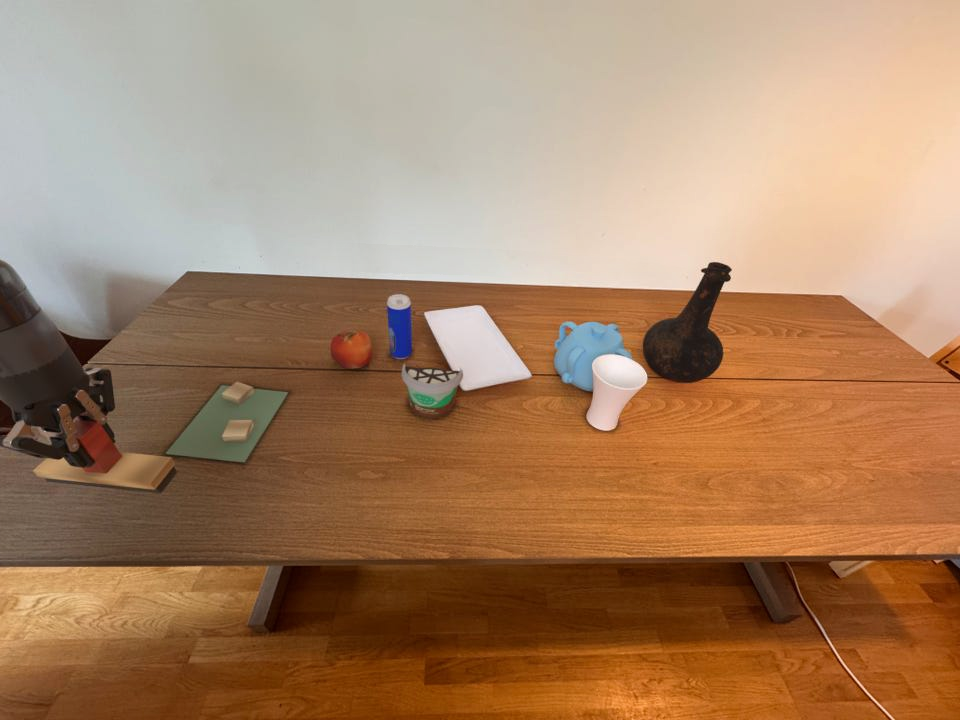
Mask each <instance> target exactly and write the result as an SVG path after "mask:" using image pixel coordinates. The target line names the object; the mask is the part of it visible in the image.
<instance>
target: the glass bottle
mask: <svg viewBox="0 0 960 720" xmlns="http://www.w3.org/2000/svg"><path fill="white" fill-rule="evenodd" d="M732 271H733V269H732V268H731V266H729V265H728V264H725V263H722V262H718V261H711V262H709V263H708V264H707V267H704V268H701V269H700V272H701V273H702V274H703V275H702V278H701V280H700V281H699V283H698V285H697V287H696V288H695V290H694V292H693V293H692V295H691V297H690V299H689V300H688V302H687V303H686V304H685V306H684V308H683V309H682V311H681V312H680V313H679V314H678V316H676V317H670V318H665V319H662V320H659V321H657V322H655V323H654V324H653V325H651V326H650V327H649V329H648V330H647V331H646V332H645V334H644V336H643V340H642V353H643V357H644V359H645V362H646V363H647V365H648V367H649V368H650V369H651V370H652V372H654V373H655V374H656V375H658V376H659V377H661V378H662V379H664V380H668V381H671V382H674V383H680V384H692V383H693V384H694V383H697V382H700V381H702V380H705V379H707V378H709V377H710V376H712V375H713V374H714V373H715V372H716V371H717V370H719V368H720V366H721V364H722V361H723V358H724V347H723V344H722V341H721V340H720V337H718V335H717V334H716V333H715V332H714V331H713V330H712V329H711V328H709V324H710V321H711V317H712V314H713V311H714V308H715V306H716V303H717V301H718V298H719V296H720V293H721V291H722V289H723V287H724V284H725V283H728V282H730V281H731V280H732V277H731V274H730V273H731V272H732Z"/></svg>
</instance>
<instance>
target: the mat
mask: <svg viewBox="0 0 960 720" xmlns="http://www.w3.org/2000/svg"><path fill="white" fill-rule="evenodd" d="M231 386H232V385H226V384H225V385H223V384H221V386H220V387H219V388H218V389H217V391H215V393H214V394H213V395H212V396H211V398H210V399H209V400H207V401H208V402H206V404H205V405H204V406H203V407H202V408H201V410H200V411H199V412H198V414H196V416H195V417H194V418H193V420H191V422H190V423H189V424H188V426H187V427H186V428H185V429H184V430H183V432H182V433H181V434H179V436H178V437H177V438H176V440H175V441H174V442H173V444H172V445H171V446H170V447H169V448H168V450H166V452H165V455H168V456H169V455H170V456H180V457H188V458H196V459H205V460H206V459H207V460H216V461H225V462H234V463H243V464H244V463H246V461H247V460H248V458H249V457H250V455H251V454H252V452H253V451H254V449H255V447H256V446H257V444H258V443H259V441H260V440H261V438H262V437H263V434H264V433H265V432H266V430H267V428H268V426H269V425H270V423H271V422H272V420H273V418H274V417H275V415H277V412H278V411H279V409H280V407H281V406H282V404H283V402H285V399H286V398H287V396H288V395H289V391H279V390H272V389H271V390H270V389H261V388H253V390H254V393H253V394H252V395H251V396H250V397H249V398H247V399H246V400H245V401H244V402H243V403H242V404H240V405H239V404H236V403H233V402H230V401H227V400H225V399H224V398H223V396H222V393H223V392H224V391H226V390H227V389H228V388H229V387H231ZM230 420H252V421H253V424H254V427H253V429H252V432H251V434H250V437H249V439H248V441H247V442H224V440H223V438H222V435H223V433H224V431H225V429H226V427H227V425H228V423H229V421H230Z"/></svg>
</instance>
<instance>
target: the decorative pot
mask: <svg viewBox="0 0 960 720" xmlns="http://www.w3.org/2000/svg"><path fill="white" fill-rule="evenodd" d="M566 328H569V329H570V330H572V331H570V332H569V333H568V335H567V336H566ZM558 337H559V338H558V339H556V340H555V341H554V344H553V345H554V348H555V349H556V353H555V354H554V358H553V366H554V368H555V370H556V373H557V374H558V375H559V376H560V377H561V381H562V382H563V383H564V384H571V385H572V386H574V387H575V388H579V389H580V390H582V391H586V392H593V389H594V385H593V371H592V364H593V361H594V360H595V359H596V358H597V357H599V356H602V355H607V354H615V355H621V356H624V357H627V358H630V359H632V360H634V358H633V355H632V354H631V353H630V352H629V351H628V350H626V349H625V344H624V339H623V336H622V334H621V333H620V328H619V326H618V325H617V324H615V323H609V324H608V325H605V324H604V323H601V322H597V321H587V322H583V323H581V324H576V322H574V321H565V322H562V324H561V325H560V326H559V329H558Z"/></svg>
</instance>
